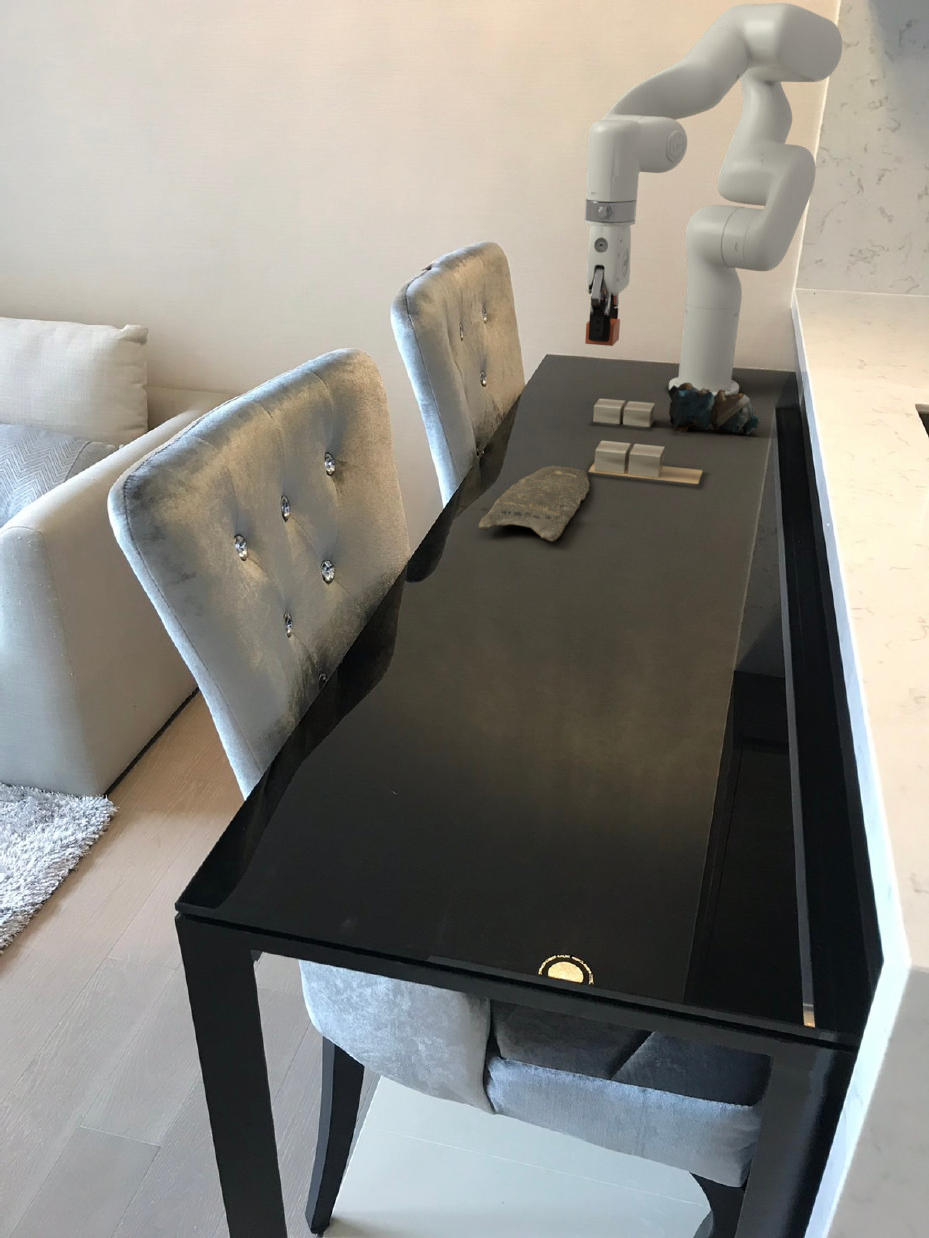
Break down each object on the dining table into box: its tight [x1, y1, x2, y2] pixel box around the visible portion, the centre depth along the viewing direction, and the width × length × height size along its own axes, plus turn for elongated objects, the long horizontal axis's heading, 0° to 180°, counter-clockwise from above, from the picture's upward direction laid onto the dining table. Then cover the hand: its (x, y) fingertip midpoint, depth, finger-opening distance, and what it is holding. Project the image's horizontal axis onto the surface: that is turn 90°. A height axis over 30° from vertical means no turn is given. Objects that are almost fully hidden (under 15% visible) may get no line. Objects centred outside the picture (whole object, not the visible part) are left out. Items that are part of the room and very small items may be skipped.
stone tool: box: [478, 465, 590, 542], centre depth 136 cm, size 11×3×25 cm
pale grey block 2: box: [622, 400, 656, 428], centre depth 166 cm, size 4×4×3 cm
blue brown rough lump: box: [668, 383, 762, 436], centre depth 161 cm, size 9×8×15 cm
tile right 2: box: [628, 443, 666, 478], centre depth 146 cm, size 4×4×3 cm
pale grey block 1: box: [594, 440, 632, 474], centre depth 148 cm, size 4×4×3 cm
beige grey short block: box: [592, 398, 626, 425], centre depth 168 cm, size 4×4×3 cm
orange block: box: [584, 318, 621, 347], centre depth 157 cm, size 4×4×3 cm
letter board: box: [588, 461, 704, 485], centre depth 147 cm, size 6×16×1 cm, turn 71°
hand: (602, 335), depth 157 cm, fingers closed on orange block, 4 cm apart
